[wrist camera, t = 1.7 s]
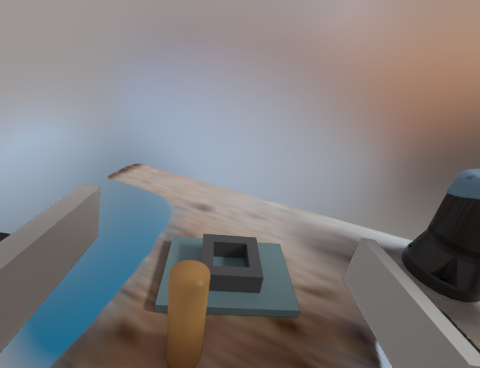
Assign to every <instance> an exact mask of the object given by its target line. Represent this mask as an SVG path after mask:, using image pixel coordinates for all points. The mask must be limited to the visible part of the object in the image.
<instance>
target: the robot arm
mask: <svg viewBox="0 0 480 368" xmlns="http://www.w3.org/2000/svg"><path fill="white" fill-rule="evenodd" d="M100 189H101V188H100V187H98V186H93V185H88V184H82V185H81V186H79V187H78V188H76V189H75V190H73V191H72V192H71V193H69V194H68V195H66V196H65V197H63V198H62V199H61V200H59V201H58V202H56V203H55V204H54V205H52V206H51V207H49V208H48V209H46V210H45V211H44V212H42V213H41V214H39V215H38V216H37V217H35V218H34V219H32V220H31V221H29V222H28V223H26V224H25V225H23V226H22V227H21V228H19V229H18V230H16V231H15V232H14V233H12V234H7V233H0V353H1V352H2V350H3V349H4V348H5V347H6V346H7V344H8V343H9V342H10V341H11V340H12V339H13V337H14V336H15V335H16V334H17V332H18V331H19V330H20V329H21V328H22V327H23V325H24V324H25V323H26V322H27V321H28V320H29V318H30V317H31V316H32V315H33V313H34V312H35V311H36V310H37V309H38V308H39V306H40V305H41V304H42V303H43V302H44V300H45V299H46V298H47V297H48V296H49V295H50V293H51V292H52V291H53V290H54V289H55V287H56V286H57V285H58V284H59V283H60V281H61V280H62V279H63V278H64V277H65V276H66V274H67V273H68V272H69V271H70V270H71V268H72V267H73V266H74V265H75V263H77V261H78V260H79V259H80V258H81V256H82V255H83V254H84V253H85V252H86V251H87V249H88V248H89V247H90V246H91V245H92V244H93V242H94V241H95V240H96V239H97V237H98V223H99V206H100ZM402 259H403V262H404V264H405V266H406V267H407V268H408V270H409V271H410V272H411V273H412V274H413V275H414V276H415V277H416V278H418V279H419V280H420V281H421V282H423V283H424V284H426V285H427V286H429V287H430V288H432V289H434V290H436V291H437V292H439V293H441V294H444V295H446V296H448V297H451V298H454V299H457V300H461V301H466V302H478V301H480V169H469V170H465V171H463V172H461V173H459V174H458V175H457V177H456V178H455V180H454V181H453V183H452V185H451V186H450V187H449V188H448V189H447V194H446V196H445V198H444V199H443V201H442V203H441V205H440V207H439V208H438V210H437V212H436V214H435V215H434V217H433V219H432V221H431V223H430V225H429V226H428V228H427V230H426V231H424V232H423V233H422V234H421V235H419V236H418V237H417V238H416V239H415V240H414V241H413V242H411V243H410V244H409V245H408V246H407V247H406V249H405V251H404V253H403V255H402ZM342 280H343V282H344V283H345V285H346V287H347V289H348V290H349V292H350V294H351V295H352V297H353V299H354V301H355V302H356V304H357V306H358V308H359V309H360V311H361V313H362V315H363V316H364V318H365V320H366V322H367V323H368V325H369V327H370V329H371V330H372V332H373V334H374V336H375V337H376V339H377V341H378V343H379V344H380V346H381V348H382V349H383V351H384V353H385V354H386V356H387V358H388V360H389V362H390V363H391V365H392V367H393V368H480V350H479V349H478V348H477V347H476V346H475V344H474V343H473V342H472V341H471V340H470V339H468V338H467V336H466V335H465V334H464V333H463V332H462V331H461V330H460V329H458V328H457V327H458V326H457V325H456V324H455V323H454V322H453V321H452V320H451V319H450V318H449V317H448V316H447V315H446V314H445V313H444V312H443V311H441V310H440V309H439V308H438V307H436V306H435V305H434V304H433V303H432V302H431V301H430V299H429V298H428V297H427V296H426V295H425V294H424V293H423V292H422V291H421V290H420V289H419V288H418V286H417V285H416V284H415V283H414V282H413V281H412V280H411V279H410V278H409V277H408V276H407V275H406V273H405V272H404V271H403V270H402V269H401V268H400V267H399V266H398V265H397V264H396V263H395V262H394V260H393V259H392V258H391V257H390V256H389V255H388V254H387V253H386V252H385V251H384V250H383V249H382V247H381V246H380V245H379V244H378V243H377V242H376V241H375V240H371V239H366V238H361V240H360V242H359V244H358V246H357V248H356V251H355V253H354V255H353V257H352V259H351V261H350V264H349V266H348V268H347V270H346V272H345V274H344V277H343V279H342Z"/></svg>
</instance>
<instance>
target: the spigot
mask: <svg viewBox="0 0 480 368" xmlns="http://www.w3.org/2000/svg"><path fill="white" fill-rule="evenodd" d="M209 284H210V270H209V269H208V267H207V266H206V265H205V264H203V263H202V262H199V261H195V260H185V261H181V262H179V263H177V264H175V265H174V266H173V267H172V268H171V270H170V272H169V284H168V322H167V362H168V364H169V366H170V367H171V368H194V367H195V366H196V365H197V364H198V362H199V361H200V358H201V351H202V343H203V334H204V326H205V317H206V309H207V300H208V292H209Z"/></svg>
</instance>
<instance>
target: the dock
mask: <svg viewBox="0 0 480 368" xmlns="http://www.w3.org/2000/svg"><path fill="white" fill-rule="evenodd" d="M185 260H195V261H199V262H202V263H203V264H205V265H206V266H207V267H208V269H209V270H210V284H209V292H208V300H207V309H206V314H223V315H250V316H277V317H298V315H299V312H300V309H299V306H298V302H297V299H296V296H295V292H294V289H293V286H292V283H291V279H290V276H289V273H288V269H287V266H286V263H285V260H284V256H283V253H282V250H281V246H280V244H271V243H257V240H256V238H254V237H240V236H226V235H212V234H204V235H203V239H200V238H186V237H173V239H172V242H171V246H170V250H169V254H168V258H167V261H166V265H165V269H164V273H163V277H162V281H161V284H160V288H159V292H158V296H157V300H156V303H155V312H168V284H169V272H170V270H171V268H172V267H173V266H174V265H175V264H177V263H179V262H181V261H185Z"/></svg>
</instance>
